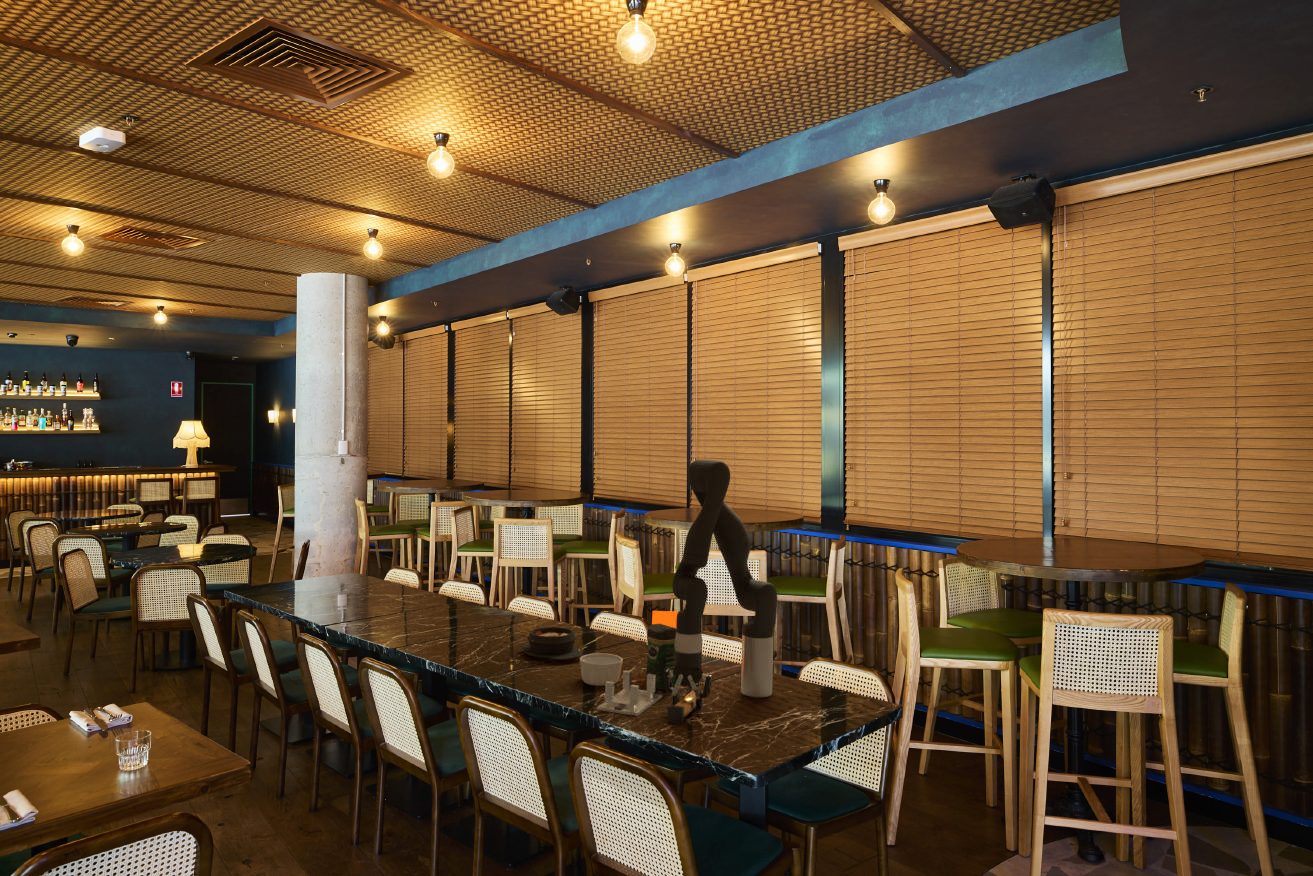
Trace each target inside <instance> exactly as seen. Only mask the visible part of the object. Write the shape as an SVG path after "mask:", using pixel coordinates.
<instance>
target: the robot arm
mask: <svg viewBox="0 0 1313 876" xmlns="http://www.w3.org/2000/svg"><path fill="white" fill-rule="evenodd" d="M687 469H688V470H687V480H688V483H689V484H688V485H689V486H690V488H691V491H692V492H693V495H694V496H695V498H696V499H697V501H698V503H699V506H700V507H701V510H700V512H699V513H698V515H697V516H696V518H695V519H694V521H693V522H692V524H691V526H690V527H689V529H688V531H687V535H686V537H685V543H684V546H683V547H684V548H683V554H682V559H681V560H680V562H679V564H678V567H677V569H676V572H675V574H674V576H673V578H672V585H671V587H672V589H671V590H672V593H673V595H674V596H675V597H676V598H677V599H679V600H681V601H685V604H684V608H683V609H681V610H679V611H677V612H678V613H677V618H676V637H675V645H674V647H675V663H674V664H675V667H674V669H673V670H670V669H667V670H665V671H664V672H663V674H664V681H665V688H666V689H665V692H666V693H667V694H671V695H672V703H671V705H676V704H677V703H678V702H679V701H680V698H681V697H680V696H681V695H680V690H681V688H682V687H689V688H691V689H692V691H693V692H694V693H695V695H696V698H697V699H696V707H695V708H694V710H695V713H696V714H700V712H701V711H702V710H703V702H704V700H703V698H704V699H706V698H708V697H709V696H710V693H711V687H712V683H713V678H714V676H713V674H711V673H710V674H706V673H704V671H703V667H702V666H703V634H702V632H703V631H702V629H703V628H702V627H703V626H702V625H703V624H702V623H703V619H702V618H703V615H704V611H705V608H706V605H707V600H708V596H709V595H708V593H709V592H708V590H709V589H708V585H707V583H706V581H705V580H704V579H702V578H701V577H697V573H698V572H699V570H700V569H703V568H705V567H706V566H707V564H708V561H709V556H710V552H711V551H710V549H711V544H712V539H713V536H714V539H715V542H716V544H717V547H718V549H719V551H720V553H721V556H722V558H723V560H724V563H725V566H726V568H727V570H728V573H729V576H730V577H729V578H730V580H731V584H732V586H733V590H734V593H735V598H736V600H737V603H738V605H740V607H741V608H742V609H744V610H747V611H750V612H754V618H753V620H752V621H749V622H746V623H744V624H742V629H741V668H740V669H741V671H740V672H741V676H740V677H741V678H740V693H741V694H742V695H743V696H747V697H752V698H766V697H770V696H771V695H773V673H774V671H773V669H774V667H773V666H774V665H773V663H774V660H773V659H774V630H775V627H776V624H777V610H778V592H777V589H776V587H775V585H774V584H773V583H771V582H769V581H763V580H758V579H757V580H756V579H754V577H753V575H752V573H751V571H750V569H749V566H748V561H749V556H750V551H751V540H750V537H749V534H748V532H747V530H746V527H745V524H744V523H743V521H742V520H741V518H740V517H739V515H737V513H735V511H734V510H732V508H731V507H730V505H728V504H727V503H726V502H725V498H726V495H727V492H728V489H729V485H730V481H731V470H730V467H729V465H727V464H726V463H725V462H724V461H721V460H713V459H695V460H694V461H692V462H690V464H689V466H688V468H687ZM673 674H674V676H675V678H676V679H677V682H676V684H675V686H674V688H673V685H672V678H671V677H672V676H673ZM701 679H702V681H703V683H704V686H703V690H702V686H701V683H700V681H701ZM702 691H703V693H702Z"/></svg>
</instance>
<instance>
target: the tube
mask: <svg viewBox="0 0 1313 876" xmlns="http://www.w3.org/2000/svg"><path fill="white" fill-rule="evenodd" d="M702 693H703V690H702ZM696 699H697V698H696V695H695V693H694V692H693V690H691V691H690V692H689V693H688V694H686V695H685V696H684V697H683V698H682V699H681V700H679V702H678V703H677V704H676V705H672V704H669V705H668V706H667V718H666V719H667V721H666V722H667V723H671V724H677V725H683V724H684V723H685V718H686V717H687V716H688V715H689V714H690V713H691V712H692V711H693V710H695V707H696ZM704 700H705V698H703V701H704Z"/></svg>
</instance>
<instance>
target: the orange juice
mask: <svg viewBox="0 0 1313 876" xmlns="http://www.w3.org/2000/svg"><path fill="white" fill-rule="evenodd" d="M678 612H679V611H673V610H671V611H670V610H669V611H665V610H652V620H651V621H652V622H651V624H659V623H661V624H663V625H667V626H670V627H674V628H676V618H677V613H678Z"/></svg>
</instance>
